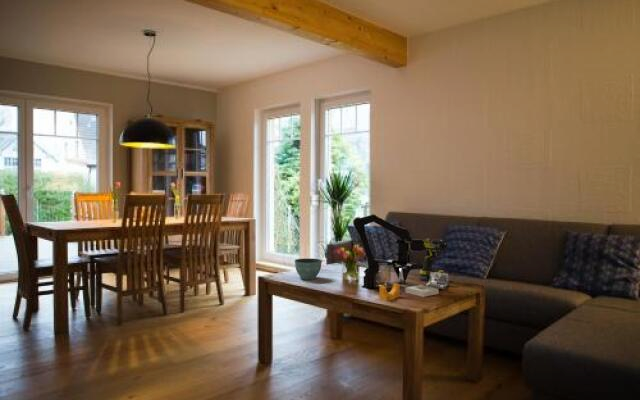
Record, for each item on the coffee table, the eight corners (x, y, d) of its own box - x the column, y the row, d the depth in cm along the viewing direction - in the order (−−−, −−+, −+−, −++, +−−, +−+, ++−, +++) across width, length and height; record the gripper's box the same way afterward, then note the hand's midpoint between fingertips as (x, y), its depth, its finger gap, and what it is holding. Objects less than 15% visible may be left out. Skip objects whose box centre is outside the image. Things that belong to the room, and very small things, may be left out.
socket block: (402, 291, 250) (402, 286, 250) (386, 287, 260) (386, 282, 260) (417, 288, 258) (417, 284, 258) (401, 284, 267) (401, 280, 267)
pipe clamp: (386, 301, 230) (386, 288, 230) (379, 299, 233) (379, 286, 233) (402, 297, 238) (402, 285, 237) (395, 296, 241) (395, 283, 241)
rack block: (423, 296, 239) (423, 292, 239) (405, 292, 249) (405, 287, 249) (438, 293, 247) (438, 289, 247) (420, 289, 256) (420, 284, 256)
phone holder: (443, 274, 252) (422, 272, 257) (443, 292, 252) (421, 289, 257) (450, 268, 268) (429, 267, 273) (449, 286, 268) (429, 283, 273)
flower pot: (288, 278, 280) (289, 260, 279) (307, 274, 292) (307, 257, 292) (309, 282, 269) (309, 263, 269) (327, 278, 281) (327, 260, 281)
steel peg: (402, 287, 256) (402, 268, 256) (397, 286, 259) (397, 267, 259) (406, 286, 258) (407, 268, 258) (401, 285, 261) (402, 267, 261)
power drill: (447, 283, 274) (448, 240, 273) (417, 280, 280) (419, 238, 279) (448, 280, 282) (450, 238, 281) (420, 277, 288) (421, 236, 288)
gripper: (426, 252, 256) (425, 281, 256) (400, 248, 270) (399, 275, 271) (412, 254, 249) (411, 283, 249) (386, 249, 264) (386, 277, 264)
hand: (402, 279), depth 259 cm, fingers closed on steel peg, 4 cm apart
